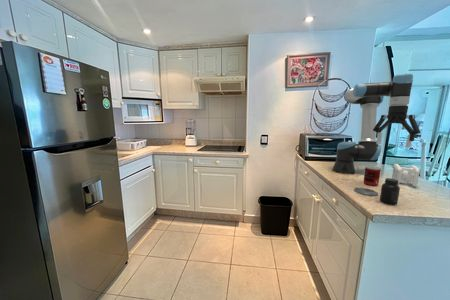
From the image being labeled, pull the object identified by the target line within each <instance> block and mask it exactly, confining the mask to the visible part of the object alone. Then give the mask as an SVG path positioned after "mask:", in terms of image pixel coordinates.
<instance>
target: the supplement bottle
mask: <svg viewBox="0 0 450 300" xmlns="http://www.w3.org/2000/svg"><path fill="white" fill-rule="evenodd" d="M400 191H401V187H400V186H399V184H398V180H396V179H392V177H390V178H389V177H386V178H385V181H384V183H382V185H381V189H380V194H379V201H380V203H383V204H385V205H388V206H396V205H398V202H399V197H400V193H401V192H400Z"/></svg>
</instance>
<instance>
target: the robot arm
mask: <svg viewBox="0 0 450 300" xmlns="http://www.w3.org/2000/svg"><path fill="white" fill-rule="evenodd" d="M413 79H414V75H413V74H412V73H399V74H395V75H394V76H393V78H392V81H387V82H386V81H384V82H366V83H365V82H362V83H361V82H360V83H355V85H354V87H353V88H350V89H348V90H347V91H345V93H344V96H343V99H344V101H345V102H346V103H349V104H352V105H359V107H360V108H361V109H362V110H361V128H360V129H361V133H360V140H359V141H358V143H357V142H356V141H341V142H338V144H337V147H336V158H335V159H336V160H335V162H334V164H333V166H332V172H334V173H338V174H343V175H355V174H356V168H355V164H354V161H355V160H361V161H362V160H365V161H376V160H378V159H379V158H380V156H381V154H382V153H381V152H382V145H381V144H382V143H381V142H382V137H383V132H382V131H383V130H385V129H386V128H387V127H388V126H389V125H391V124H400V125H402V126H403V127H404V128H405V130H406V131H407V132H408V134H407V136H406V137H407V138H406V144H405V148H406V149H407V148H411V147H412V142H414V141H415V137H416V135H419V134H422V133H421V129H420V127H419V125H418V123H417V121H416V115H415V114H408V111H409V106H408V105H409V104H410V97H411V91H412V86H413V81H414V80H413ZM384 97H390V99H389V103H388V104H389V105H390V106H388V110H387V111H388V112H387V113H388V114H387V115H386V114H382V115H380V119H379V120H378V122H377V108H378V107H380V104H382V103H383V101H384ZM386 119H387V120H386ZM385 120H386V121H385ZM407 120H408V121H409V123H410V124H409V123H408V122H407ZM410 125H411V126H410Z"/></svg>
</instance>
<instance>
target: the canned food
mask: <svg viewBox="0 0 450 300" xmlns="http://www.w3.org/2000/svg"><path fill="white" fill-rule="evenodd" d="M381 172H382V171H381V168H380V167H378V166H374V165H373V166H372V165H366V166H365V169H364V174H363V175H364V177H363V184H364V185H366V186H370V187H378V186H379V185H380V184H379V183H380V178H381V177H380V176H381Z"/></svg>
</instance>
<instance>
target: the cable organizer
mask: <svg viewBox="0 0 450 300" xmlns="http://www.w3.org/2000/svg"><path fill="white" fill-rule="evenodd" d="M392 165H393V166H392V173H391V174H392V175H391V178H392V179H396V180H398V185H400V183H408V185H409V184H410V185H411V186H412V187H413V188H417V186H418V184H419V183H418V182H419V177H420V172H421V171H420V168H418V167H417V166H416V165H413V164H411V166H410V167H403V166H400V165H399V164H398V163H394V164H392Z"/></svg>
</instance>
